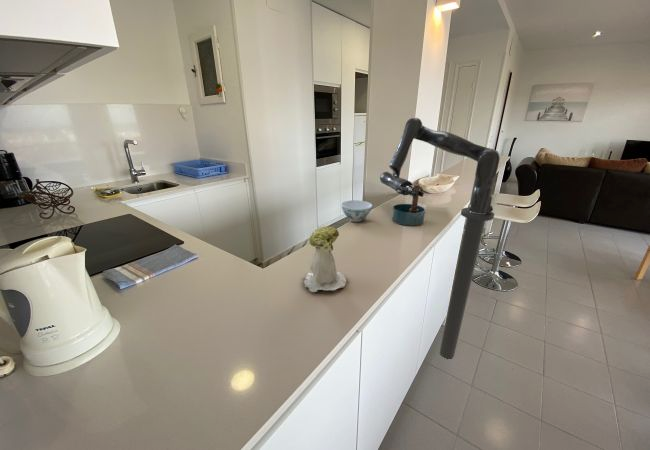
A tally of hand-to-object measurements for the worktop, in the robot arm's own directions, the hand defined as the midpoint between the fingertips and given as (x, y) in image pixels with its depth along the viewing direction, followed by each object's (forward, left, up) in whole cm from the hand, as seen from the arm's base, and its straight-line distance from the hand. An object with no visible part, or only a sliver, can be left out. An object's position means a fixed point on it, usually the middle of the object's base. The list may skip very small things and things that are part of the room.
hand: (419, 194), depth 128 cm
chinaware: (+29, +2, -14) cm, 32 cm away
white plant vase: (+29, +61, -14) cm, 69 cm away
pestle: (+1, -3, -12) cm, 12 cm away
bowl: (+4, -3, -14) cm, 15 cm away
